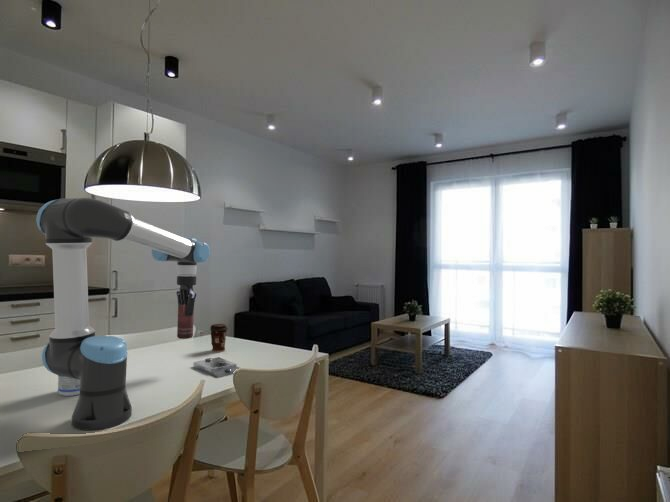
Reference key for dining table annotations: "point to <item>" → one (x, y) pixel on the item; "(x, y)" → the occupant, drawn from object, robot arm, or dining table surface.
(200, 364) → the link plate upper
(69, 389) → the supplement tub
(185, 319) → the can
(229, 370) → the link plate lower
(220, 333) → the coffee cup
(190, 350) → the dining table surface
